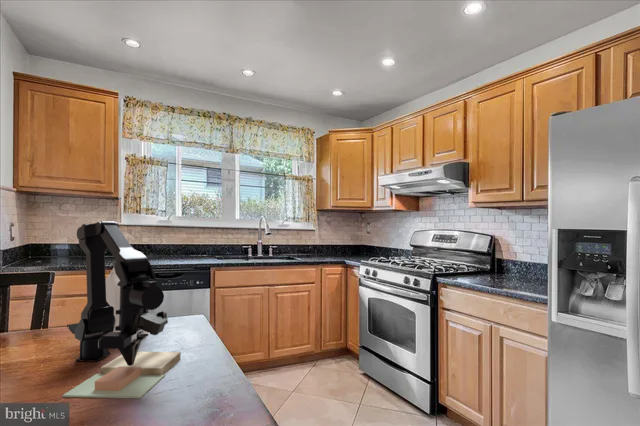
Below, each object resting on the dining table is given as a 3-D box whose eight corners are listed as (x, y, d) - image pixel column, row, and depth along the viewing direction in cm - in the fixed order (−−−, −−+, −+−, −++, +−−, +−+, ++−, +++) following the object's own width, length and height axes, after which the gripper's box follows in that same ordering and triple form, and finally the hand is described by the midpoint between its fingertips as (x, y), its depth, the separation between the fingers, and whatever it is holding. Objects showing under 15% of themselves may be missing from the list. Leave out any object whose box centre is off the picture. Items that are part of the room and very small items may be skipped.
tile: (94, 390, 84) (94, 381, 84) (118, 374, 93) (118, 366, 93) (118, 390, 83) (119, 382, 83) (140, 375, 92) (140, 367, 92)
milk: (131, 330, 134) (133, 260, 135) (147, 335, 127) (149, 262, 128) (96, 337, 124) (99, 262, 125) (112, 344, 117) (114, 265, 118)
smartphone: (65, 326, 139) (73, 335, 128) (65, 324, 139) (74, 332, 128) (87, 323, 144) (97, 331, 133) (87, 321, 144) (97, 328, 133)
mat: (62, 396, 81) (62, 395, 81) (96, 375, 93) (96, 373, 93) (140, 398, 81) (140, 396, 81) (164, 376, 92) (164, 375, 92)
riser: (100, 375, 93) (100, 367, 93) (126, 358, 105) (126, 351, 105) (161, 376, 93) (161, 368, 93) (180, 359, 105) (180, 352, 105)
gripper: (144, 313, 84) (142, 381, 83) (177, 297, 102) (176, 352, 102) (97, 313, 84) (95, 380, 83) (139, 297, 103) (138, 352, 102)
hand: (130, 365), depth 93 cm, fingers closed
